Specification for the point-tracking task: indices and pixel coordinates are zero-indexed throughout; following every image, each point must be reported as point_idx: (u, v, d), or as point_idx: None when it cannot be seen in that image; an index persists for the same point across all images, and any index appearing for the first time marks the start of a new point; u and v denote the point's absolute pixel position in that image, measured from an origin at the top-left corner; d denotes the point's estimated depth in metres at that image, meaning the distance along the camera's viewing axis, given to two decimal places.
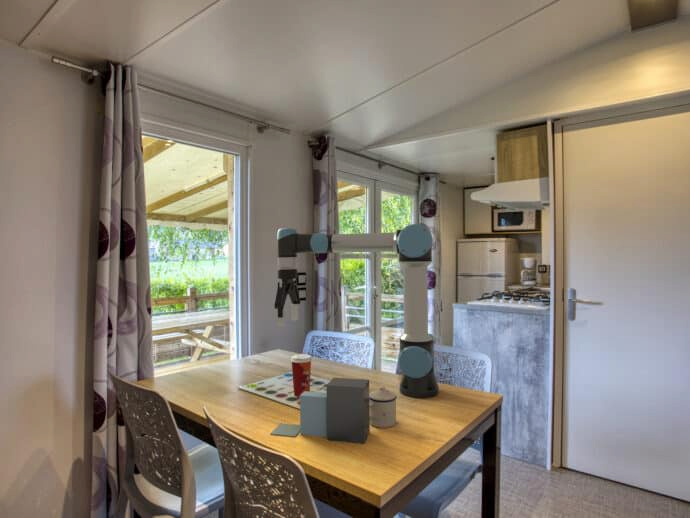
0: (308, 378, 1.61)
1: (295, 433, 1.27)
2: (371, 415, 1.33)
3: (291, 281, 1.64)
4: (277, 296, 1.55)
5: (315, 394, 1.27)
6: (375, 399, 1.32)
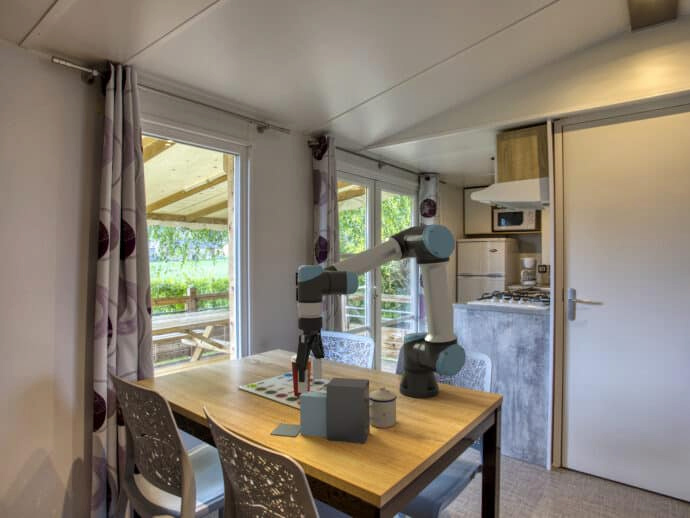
0: (308, 378, 1.61)
1: (295, 433, 1.27)
2: (371, 415, 1.33)
3: (315, 332, 1.29)
4: (298, 354, 1.20)
5: (315, 394, 1.27)
6: (375, 399, 1.32)
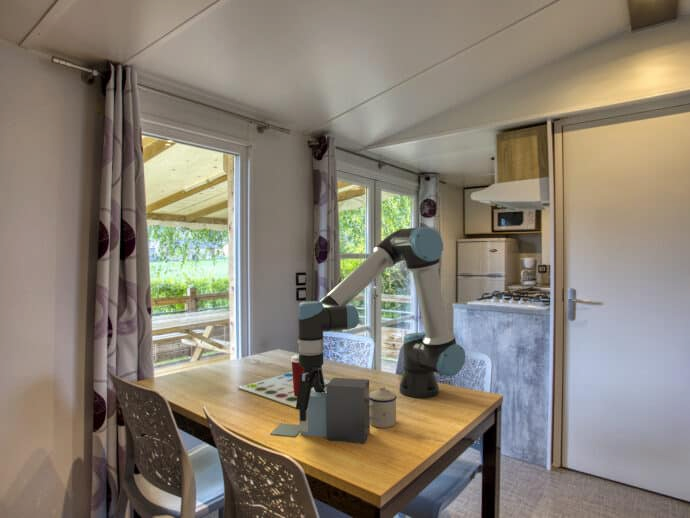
0: None
1: (295, 433, 1.27)
2: (371, 415, 1.33)
3: (315, 368, 1.29)
4: (299, 393, 1.20)
5: (316, 394, 1.27)
6: (375, 399, 1.32)
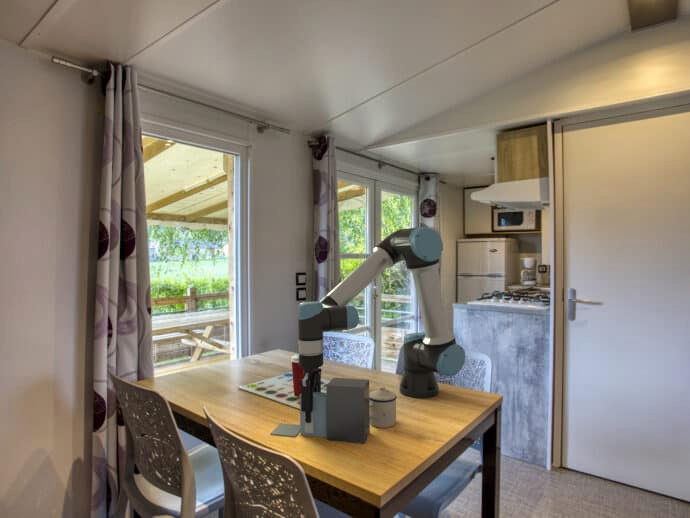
0: None
1: (295, 433, 1.27)
2: (371, 415, 1.33)
3: None
4: (302, 398, 1.23)
5: (315, 394, 1.27)
6: (375, 399, 1.32)
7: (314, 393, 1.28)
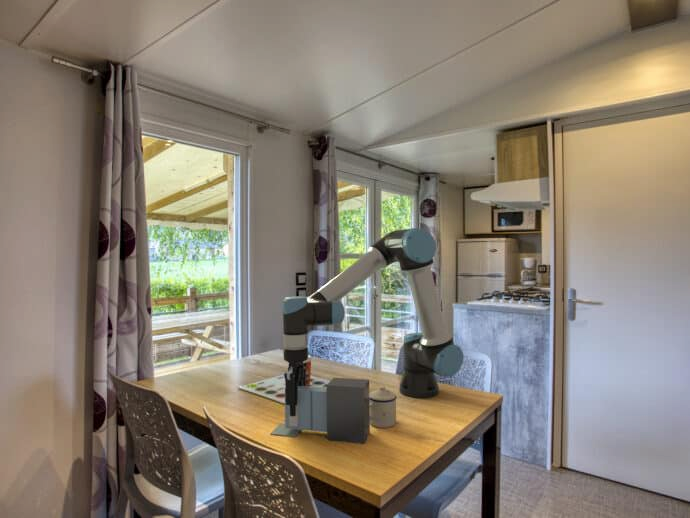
0: (308, 378, 1.61)
1: (295, 433, 1.27)
2: (371, 415, 1.33)
3: None
4: (286, 391, 1.24)
5: (300, 388, 1.28)
6: (375, 399, 1.32)
7: (299, 387, 1.30)
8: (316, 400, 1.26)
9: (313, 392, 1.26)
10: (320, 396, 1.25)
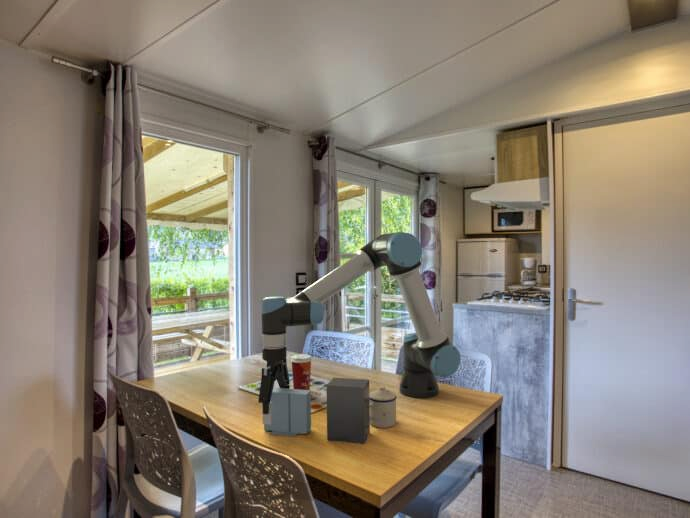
0: (308, 378, 1.61)
1: (295, 433, 1.27)
2: (371, 415, 1.33)
3: (279, 361, 1.32)
4: (261, 387, 1.24)
5: (279, 390, 1.30)
6: (375, 399, 1.32)
7: (278, 389, 1.31)
8: (293, 402, 1.28)
9: (291, 395, 1.28)
10: (298, 398, 1.27)
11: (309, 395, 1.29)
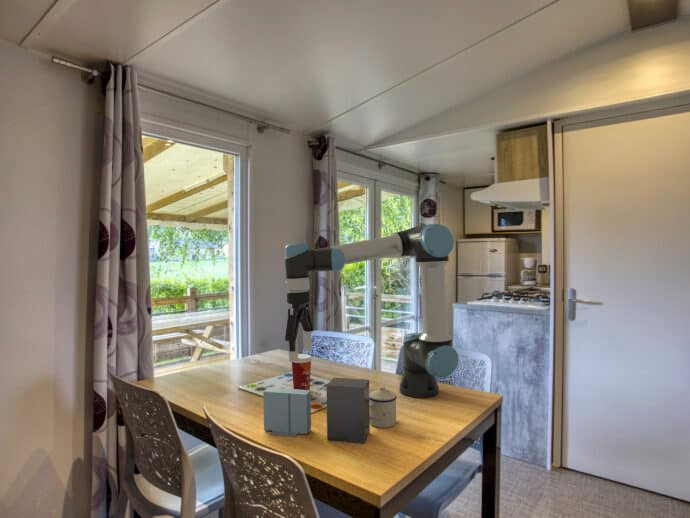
0: (308, 378, 1.61)
1: (295, 433, 1.27)
2: (371, 415, 1.33)
3: (303, 306, 1.38)
4: (287, 326, 1.29)
5: (279, 390, 1.30)
6: (375, 399, 1.32)
7: (278, 389, 1.31)
8: (293, 402, 1.28)
9: (291, 395, 1.28)
10: (298, 398, 1.27)
11: (309, 395, 1.29)
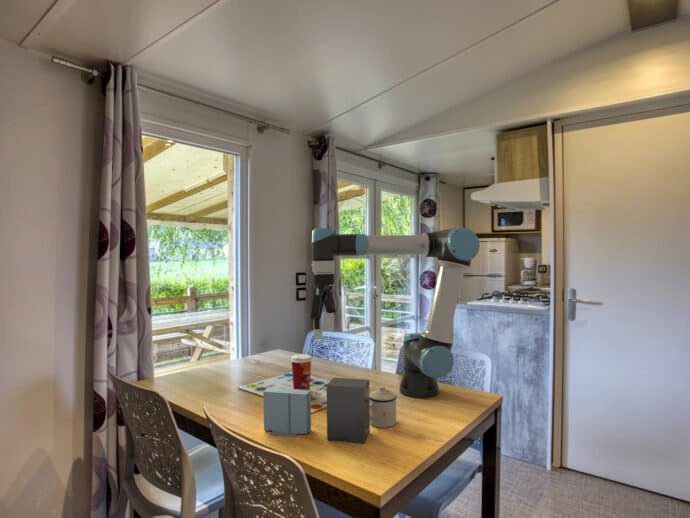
0: (308, 378, 1.61)
1: (295, 433, 1.27)
2: (371, 415, 1.33)
3: (327, 287, 1.45)
4: (313, 305, 1.37)
5: (279, 390, 1.30)
6: (375, 399, 1.32)
7: (278, 389, 1.31)
8: (293, 402, 1.28)
9: (291, 395, 1.28)
10: (298, 398, 1.27)
11: (309, 395, 1.29)
